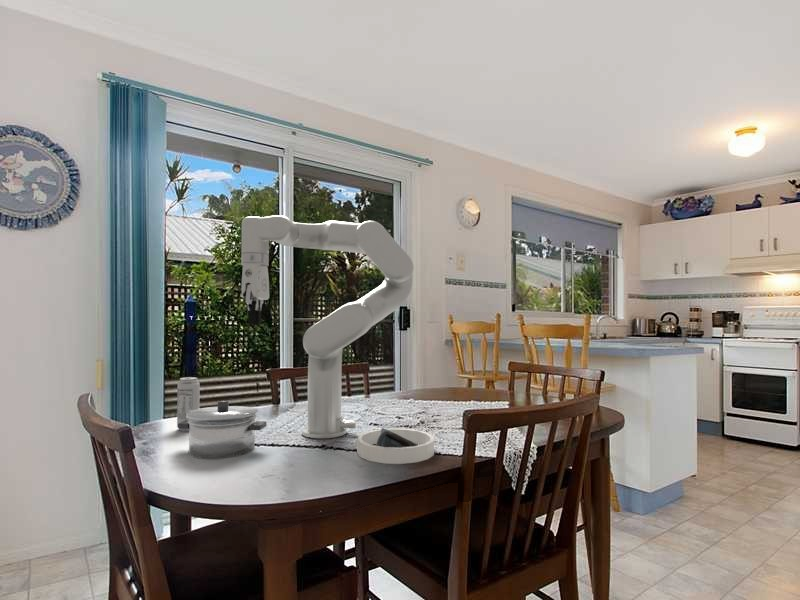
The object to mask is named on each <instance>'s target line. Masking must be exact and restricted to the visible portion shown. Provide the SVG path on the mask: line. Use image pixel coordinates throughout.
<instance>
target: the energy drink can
mask: <svg viewBox="0 0 800 600" xmlns="http://www.w3.org/2000/svg"><path fill="white" fill-rule="evenodd" d="M200 384H201V383H200V382H199V380H198V377H195V376H193V377H192V376H188V377H187V376H185V377H180V378H179V381H178V383H177V395H176V396H177V398H176V399H177V401H176V402H177V403H176V406H177V409H176V410H177V411H176V414H177V415H176V416H177V417H176V418H177V419H176V428H178V423H180V422H183V421H185V420H188V418H186V414H187V412H188V411H191V410H194V409H200V407H201V406H200V403H201V402H200V397H201V396H200V393H201V392H200V390H201V388H200V386H201V385H200ZM178 431H180V432H189V428H188V429H184V428H178Z"/></svg>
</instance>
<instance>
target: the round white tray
mask: <svg viewBox="0 0 800 600" xmlns="http://www.w3.org/2000/svg"><path fill="white" fill-rule="evenodd" d="M381 429H382V428H380V429H379V428H378V429H374V430H369V431H365V432H364V433H360V434H359V435H358V437H357V439H356V442H357V443H356V453H357V455H358V456H359V457H360V458H361V459H364V460H367V461H369V462H372V463H379V464H386V465H387V464H388V465H389V464H391V465H403V464H413V463H420V462H423V461H427V460H429V459H430V458H432V457H434V456H435V436H434V435H432V434H431V433H429V432H426V431H422V430H419V429H412V428H396V427H395V428H393V427H392V428H386V429H387V430H389V431H391V432H393V433H396V434H397V435H399V436H401V437H403V438H405V439H407V440H409V441H412V442H413V443H415V444H420V445H417V446H412V447H401V448H398V447H381V446H376V445H373V444H377V440H378V438H379V436H380V434H381Z"/></svg>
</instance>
